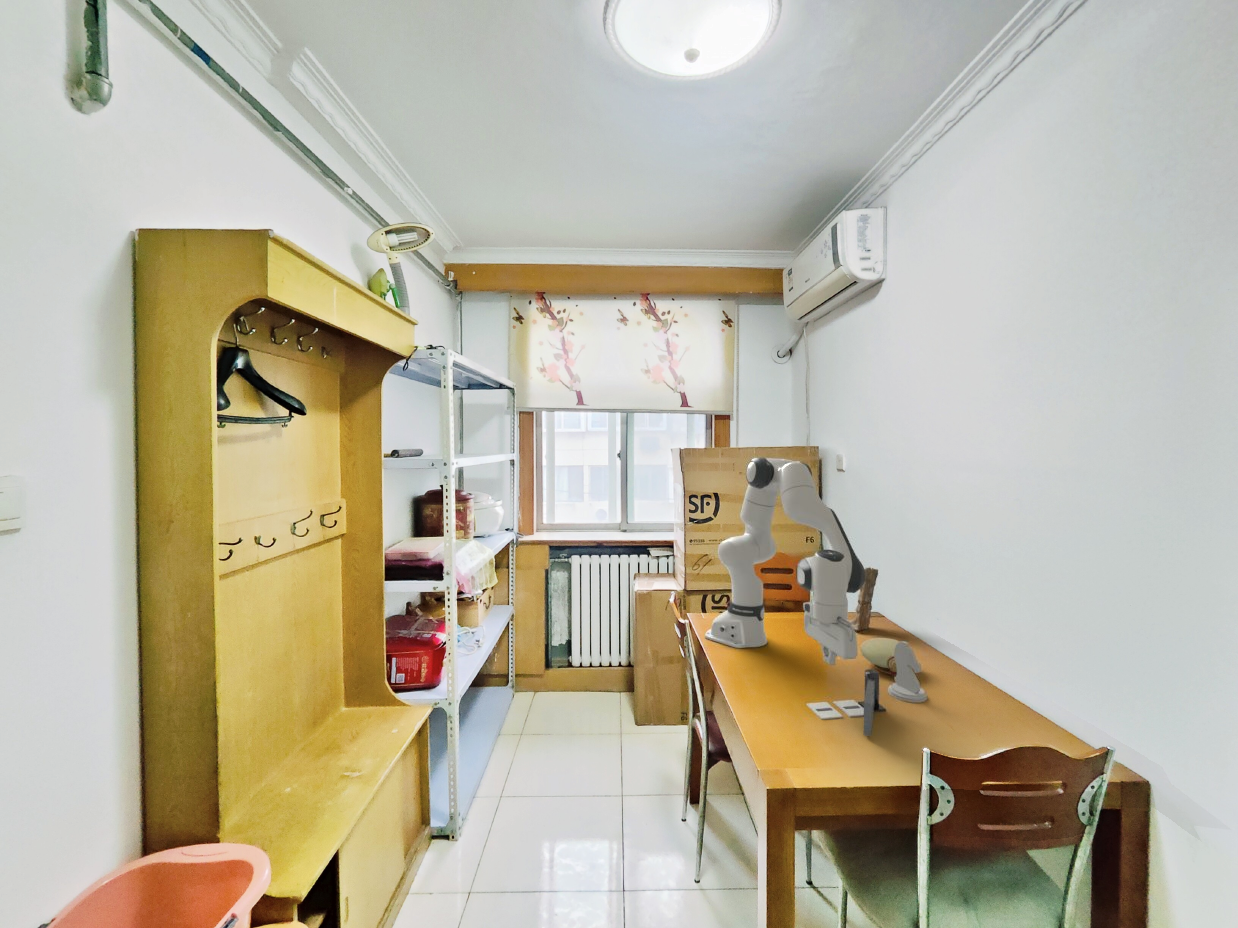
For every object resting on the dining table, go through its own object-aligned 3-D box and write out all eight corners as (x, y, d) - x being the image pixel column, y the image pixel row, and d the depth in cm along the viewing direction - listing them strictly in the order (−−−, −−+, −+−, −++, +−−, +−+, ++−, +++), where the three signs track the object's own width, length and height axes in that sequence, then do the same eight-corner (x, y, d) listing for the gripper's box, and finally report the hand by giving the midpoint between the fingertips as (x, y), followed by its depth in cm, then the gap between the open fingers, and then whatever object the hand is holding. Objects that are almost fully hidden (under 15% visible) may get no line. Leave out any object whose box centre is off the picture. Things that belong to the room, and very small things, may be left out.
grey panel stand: (864, 700, 149) (865, 668, 149) (879, 703, 147) (879, 671, 147) (859, 734, 132) (859, 698, 131) (875, 737, 130) (875, 701, 130)
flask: (906, 660, 178) (925, 686, 160) (855, 657, 181) (868, 682, 163) (907, 633, 177) (926, 656, 160) (855, 630, 180) (869, 652, 163)
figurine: (847, 625, 218) (853, 563, 220) (873, 631, 211) (879, 568, 213) (834, 626, 210) (841, 562, 212) (860, 633, 203) (867, 567, 205)
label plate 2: (853, 701, 150) (853, 699, 150) (870, 715, 142) (870, 713, 142) (833, 702, 149) (833, 701, 149) (849, 716, 141) (849, 715, 141)
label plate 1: (826, 703, 149) (826, 701, 149) (842, 717, 141) (842, 715, 141) (806, 704, 148) (806, 703, 148) (821, 719, 140) (821, 717, 140)
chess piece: (909, 705, 148) (910, 651, 147) (880, 690, 157) (881, 639, 156) (935, 698, 151) (935, 646, 151) (904, 684, 160) (905, 635, 160)
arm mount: (874, 701, 149) (874, 700, 149) (885, 710, 144) (885, 708, 144) (857, 703, 149) (857, 701, 149) (868, 712, 144) (868, 710, 144)
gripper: (864, 623, 134) (863, 678, 135) (820, 600, 154) (819, 648, 155) (841, 625, 133) (840, 680, 133) (800, 601, 153) (799, 649, 154)
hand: (829, 662), depth 144 cm, fingers closed
